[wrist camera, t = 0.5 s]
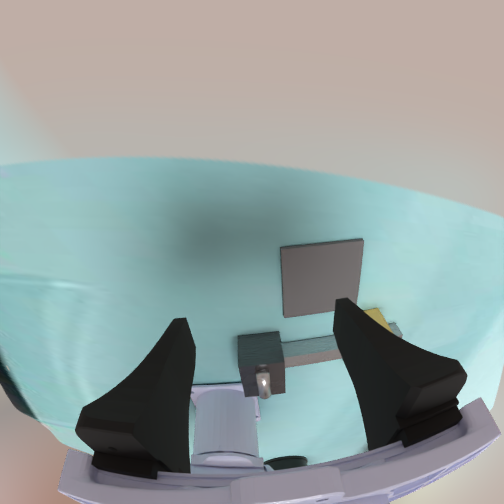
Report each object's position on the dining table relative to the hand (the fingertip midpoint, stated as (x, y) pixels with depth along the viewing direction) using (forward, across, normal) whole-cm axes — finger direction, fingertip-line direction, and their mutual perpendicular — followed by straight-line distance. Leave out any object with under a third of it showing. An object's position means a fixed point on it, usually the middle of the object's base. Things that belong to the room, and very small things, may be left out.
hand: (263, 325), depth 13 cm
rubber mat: (+10, -6, +4) cm, 12 cm away
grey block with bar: (+10, -6, +12) cm, 17 cm away
